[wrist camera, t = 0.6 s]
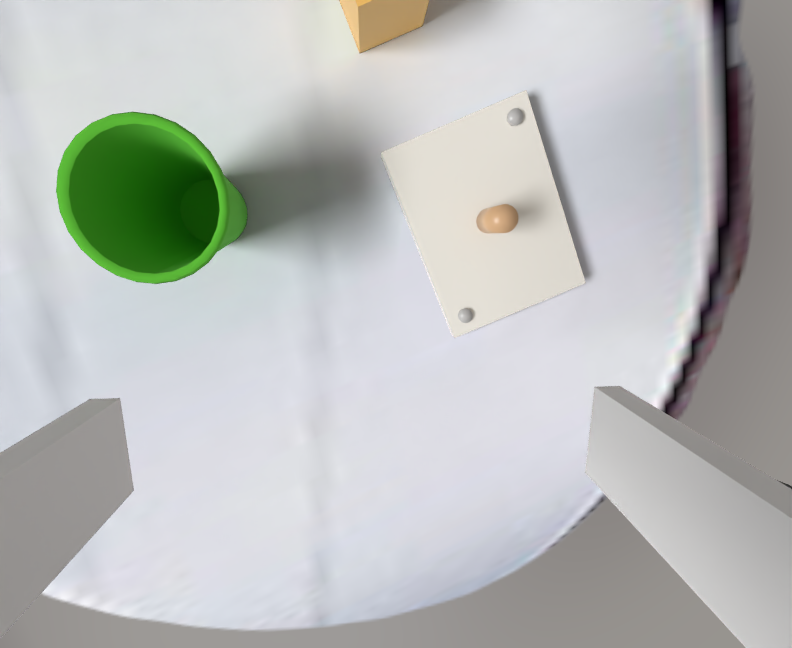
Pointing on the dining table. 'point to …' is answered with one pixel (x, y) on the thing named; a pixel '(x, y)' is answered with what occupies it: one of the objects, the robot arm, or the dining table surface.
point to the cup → (146, 198)
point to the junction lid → (485, 214)
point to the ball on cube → (382, 19)
